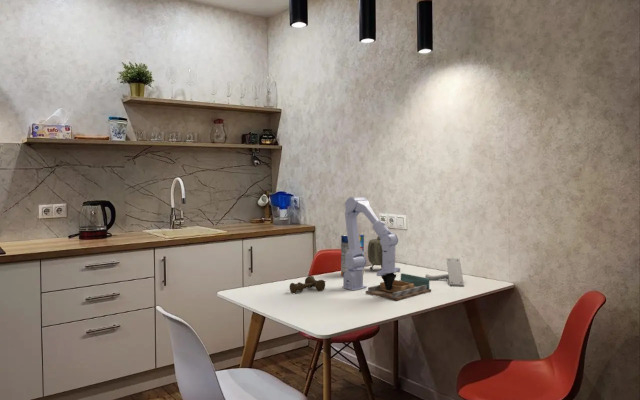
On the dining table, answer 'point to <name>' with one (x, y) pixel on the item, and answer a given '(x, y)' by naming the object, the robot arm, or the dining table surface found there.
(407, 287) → the box
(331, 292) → the dining table surface
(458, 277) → the door handle
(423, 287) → the bay
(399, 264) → the dining table surface
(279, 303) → the dining table surface
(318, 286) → the brown knobbed bar
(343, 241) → the beverage box
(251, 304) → the dining table surface
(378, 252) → the tabletop clock
